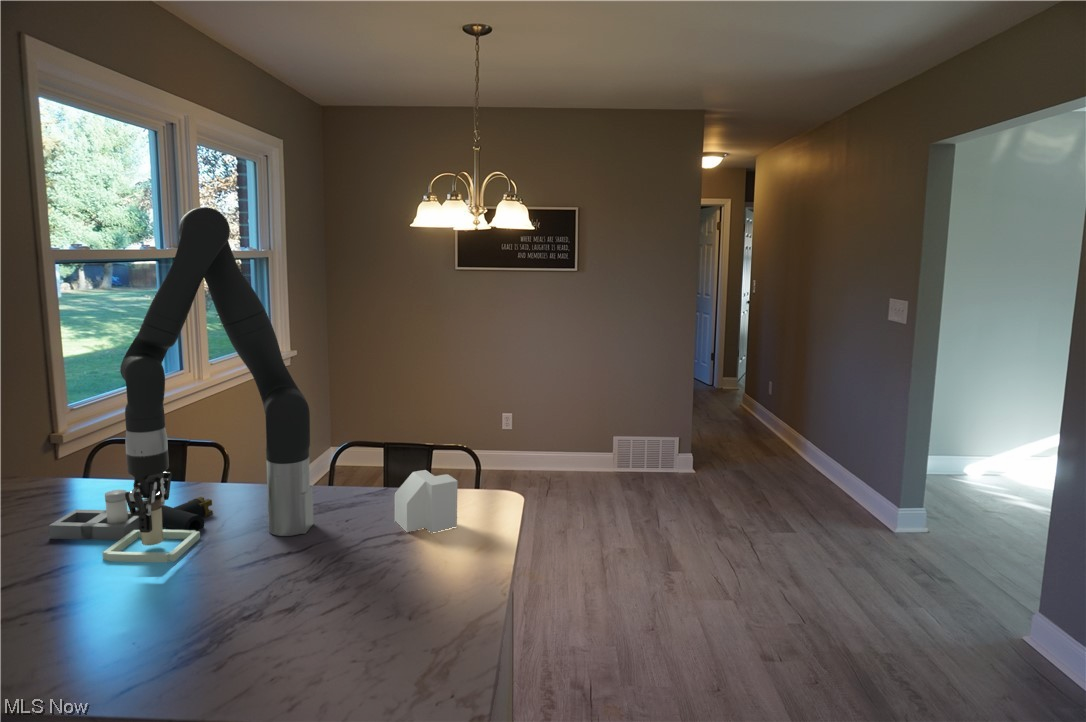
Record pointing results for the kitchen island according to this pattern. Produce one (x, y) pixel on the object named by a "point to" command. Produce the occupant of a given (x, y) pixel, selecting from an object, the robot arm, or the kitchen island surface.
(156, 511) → the cylinder
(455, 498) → the pale house-shaped block
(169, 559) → the parts tray
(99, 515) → the fuse block
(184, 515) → the pipe connector
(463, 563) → the kitchen island surface
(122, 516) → the cylinder
